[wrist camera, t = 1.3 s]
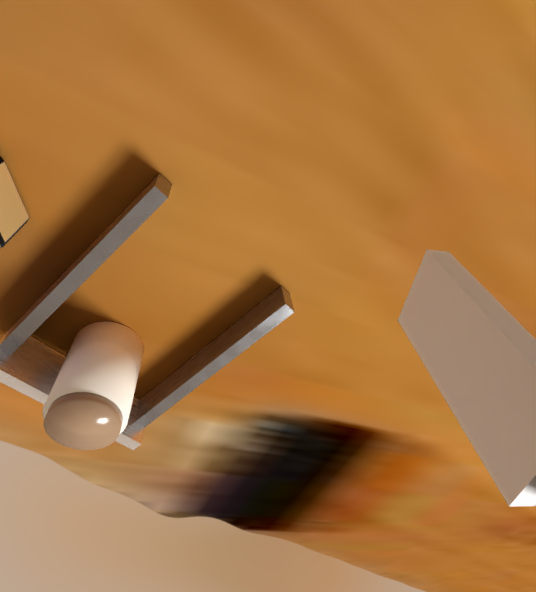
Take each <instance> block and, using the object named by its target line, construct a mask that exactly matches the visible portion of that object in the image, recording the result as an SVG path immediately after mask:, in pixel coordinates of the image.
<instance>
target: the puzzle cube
mask: <svg viewBox="0 0 536 592" xmlns="http://www.w3.org/2000/svg"><path fill="white" fill-rule="evenodd" d="M28 219H29V216H28V214H27V211H26V209H25V207H24V205H23V202H22V200H21V198H20V196H19V193H18V191H17V189H16V186H15V184H14V182H13V180H12V177H11V175H10V173H9V171H8V168H7V166H6V164H5V161H3V160H2V159H0V248H1V247H3V246H4V245H5V244H6V243H7V242H8V241H9V240H10V239H11V238H12V237H13V236H14V235H15V234H16V233H17V232H18V231H19V230H20V229H21V228H22V227H23V226H24V225H25V224H26V222H27V221H28Z"/></svg>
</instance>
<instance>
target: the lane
mask: <svg viewBox="0 0 536 592" xmlns="http://www.w3.org/2000/svg"><path fill="white" fill-rule="evenodd" d="M171 186H172V184H171V183H170V182H169V181H168V180H167V179H166V178H164V177H163V176H162V175H161V174H160V173H159V174H158V175H157V177H156V178H155V179H154V180H153V181H152V182H151V183H150V184H149V185H148V186H147V187H146V188H145V189H144V190H143V191H142V192H141V193H140V194H139V195H138V196H137V197H136V198H135V199H134V200H133V201H132V202H131V203H130V205H129V206H128V207H127V208H126V209H125V210H124V211H123V212H122V213H121V214H120V215H119V216H118V217H117V218H116V219H115V220H114V221H113V222H112V223H111V224H110V225H109V226H108V227H107V228H106V229H105V230H104V231H103V232H102V234H101V235H100V236H99V237H98V238H97V239H96V240H95V241H94V242H93V243H92V244H91V245H90V246H89V247H88V248H87V249H86V250H85V251H84V252H83V253H82V254H81V255H80V256H79V257H78V258H77V259H76V260H75V262H74V263H73V264H72V265H71V266H70V267H69V268H68V269H67V270H66V271H65V272H64V273H63V274H62V275H61V276H60V277H59V278H58V279H57V280H56V281H55V282H54V283H53V284H52V285H51V286H50V287H49V288H48V289H47V291H46V292H45V293H44V294H43V295H42V296H41V297H40V298H39V299H38V300H37V301H36V302H35V303H34V304H33V305H32V306H31V307H30V308H29V309H28V310H27V311H26V312H25V313H24V314H23V315H22V316H21V317H20V319H19V320H18V321H17V322H16V323H15V324H14V325H13V326H12V327H11V328H10V329H9V330H8V331H7V332H6V333H5V334H4V336H3V337H2V339H1V340H0V382H1V383H3V384H5V385H7V386H9V387H11V388H13V389H15V390H17V391H19V392H21V393H23V394H25V395H27V396H29V397H31V398H33V399H35V400H37V401H38V402H40V403H42V404H44V405H45V403H46V400H47V398H48V396H49V394H50V392H51V389H52V387H53V385H54V383H55V381H56V379H57V376H58V374H59V372H60V370H61V368H62V365H63V363H64V361H65V359H66V356H64V355H62V354H61V353H59V352H57V351H56V350H54V349H52V348H50V347H49V346H47V345H45V344H44V343H42V342H40V341H39V340H37V339H35V338H33V337H32V336H30V335H31V334H32V333H33V332H34V331H35V330H36V329H37V328H38V327H39V326H40V325H41V324H42V323H43V322H44V321H45V320H46V319H47V318H48V317H49V316H50V315H51V314H52V313H53V312H54V311H55V310H56V309H57V308H58V307H59V306H60V305H61V304H62V303H63V302H64V301H65V300H66V299H67V298H68V297H69V296H70V295H71V294H72V293H73V292H74V291H75V290H76V289H77V288H78V287H79V286H80V285H81V284H82V283H83V282H84V281H85V280H86V279H87V278H88V277H89V276H90V275H91V274H92V273H93V272H94V271H95V270H96V269H97V268H98V267H99V266H100V265H101V264H102V263H103V262H104V261H105V260H106V259H107V258H108V257H109V256H110V255H111V254H112V253H113V252H114V251H115V250H116V249H117V248H118V247H119V246H120V245H121V244H122V243H123V242H124V241H125V240H126V239H127V238H128V237H129V236H130V235H131V234H132V233H133V232H134V231H135V230H136V229H137V228H138V227H139V226H140V225H141V224H142V223H143V222H144V221H145V220H146V219H147V218H148V217H149V216H150V215H151V214H152V213H153V212H154V211H155V210H156V209H157V208H158V207H159V206H160V205H161V204H162V203H163V202H164V201H165V200H166V199H167V198H168V196H169V193H170V189H171ZM292 313H294V308H293V305H292V301H291V297H290V293H289V292H287V291H286V290H285V289H284V288H283V287H282V286H280V287H279V288H278V289H276V290H275V291H274V292H273V293H271V294H270V295H269V296H268V297H266V298H265V299H264V300H263V301H261V302H260V303H259V304H258V305H257V306H255V307H254V308H253V309H252V310H250V311H249V312H248V313H247V314H245V315H244V316H243V317H242V318H240V319H239V320H238V321H237V322H235V323H234V324H233V325H232V326H230V327H229V328H228V329H227V330H226V331H224V332H223V333H222V334H221V335H219V336H218V337H217V338H216V339H214V340H213V341H212V342H211V343H209V344H208V345H207V346H206V347H204V348H203V349H202V350H201V351H199V352H198V353H197V354H196V355H194V356H193V357H192V358H191V359H190V360H188V361H187V362H186V363H185V364H183V365H182V366H181V367H180V368H178V369H177V370H176V371H175V372H173V373H172V374H171V375H170V376H168V377H167V378H166V379H165V380H163V381H162V382H161V383H160V384H158V385H157V386H156V387H155V388H154V389H152V390H151V391H150V392H149V393H147V394H146V395H145V396H144V397H142V398H141V399H140V400H139V399H137V398H136V397H133V401H132V406H131V410H130V414H129V419H128V423H127V426H126V428H125V429H124V431H123V432H122V433H121V434H119V436H118V438H117V439H116V440H115V441H117V442H118V443H120V444H122V445H124V446H126V447H128V448H130V449H132V450H134V449H136V448H137V447H138V446H140V445H141V443H142V438H143V432H144V427H146V426H147V425H148V424H150V423H151V422H152V421H154V420H155V419H156V418H157V417H159V416H160V415H161V414H163V413H164V412H165V411H167V410H168V409H169V408H170V407H172V406H173V405H174V404H176V403H177V402H178V401H180V400H181V399H182V398H183V397H185V396H186V395H187V394H189V393H190V392H191V391H193V390H194V389H195V388H196V387H198V386H199V385H200V384H202V383H203V382H204V381H205V380H207V379H208V378H209V377H211V376H212V375H213V374H215V373H216V372H217V371H218V370H220V369H221V368H222V367H224V366H225V365H226V364H228V363H229V362H230V361H231V360H233V359H234V358H235V357H237V356H238V355H239V354H241V353H242V352H243V351H244V350H246V349H247V348H248V347H250V346H251V345H252V344H254V343H255V342H256V341H257V340H259V339H260V338H261V337H263V336H264V335H265V334H267V333H268V332H269V331H270V330H272V329H273V328H274V327H276V326H277V325H278V324H279V323H281V322H282V321H283V320H285V319H286V318H287V317H289V316H290V315H291V314H292Z"/></svg>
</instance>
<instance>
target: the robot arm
mask: <svg viewBox="0 0 536 592" xmlns="http://www.w3.org/2000/svg"><path fill="white" fill-rule="evenodd" d="M398 321H399V323H400V325H401V326H402V328H403V330H404V331H405V333H406V335H407V336H408V338H409V340H410V341H411V343H412V345H413V346H414V348H415V350H416V352H417V353H418V355H419V357H420V358H421V360H422V362H423V363H424V365H425V367H426V368H427V370H428V372H429V373H430V375H431V377H432V378H433V380H434V382H435V383H436V385H437V387H438V388H439V390H440V392H441V393H442V395H443V397H444V398H445V400H446V402H447V403H448V405H449V407H450V408H451V410H452V412H453V413H454V415H455V417H456V418H457V420H458V422H459V423H460V425H461V427H462V428H463V430H464V432H465V433H466V435H467V437H468V438H469V440H470V442H471V443H472V445H473V447H474V448H475V450H476V452H477V454H478V455H479V457H480V459H481V460H482V462H483V464H484V465H485V467H486V469H487V470H488V472H489V474H490V475H491V477H492V479H493V480H494V482H495V484H496V485H497V487H498V489H499V490H500V492H501V494H502V495H503V497H504V499H505V500H506V502H507V504H508V505H509V506H536V339H535V338H534V337H533V336H532V335H531V334H530V333H529V332H528V331H527V330H526V329H525V328H524V327H523V326H522V325H521V324H520V323H519V322H518V321H517V320H516V319H515V318H514V317H513V316H512V315H511V314H510V313H509V312H508V311H507V310H506V309H505V308H504V307H503V306H502V305H501V304H500V303H499V302H498V301H497V300H496V299H495V298H494V297H493V296H492V295H491V294H490V293H489V292H488V291H487V290H486V289H485V288H484V287H483V286H482V285H481V284H480V283H479V282H478V281H477V280H476V279H475V278H474V277H473V276H472V275H471V274H470V273H469V272H468V271H467V270H466V269H465V268H464V267H463V266H462V265H461V264H460V263H459V262H458V261H457V260H456V259H455V258H454V257H453V256H452V255H451V254H450V253H449V252H444V251H435V250H426V253H425V255H424V258H423V260H422V262H421V265H420V267H419V270H418V272H417V275H416V277H415V279H414V282H413V284H412V287H411V289H410V292H409V294H408V297H407V299H406V301H405V304H404V306H403V309H402V311H401V314H400V316H399V319H398Z"/></svg>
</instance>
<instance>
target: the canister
mask: <svg viewBox="0 0 536 592" xmlns="http://www.w3.org/2000/svg"><path fill="white" fill-rule="evenodd" d="M143 353H144V347H143V343H142V341H141V339H140V338H139V336H138V335H137V334H136V333H135V332H134V331H133V330H131V329H130V328H128V327H126V326H124V325H122V324H119V323H115V322H106V321H103V322H95V323H92V324H89V325H87V326H85V327H83V328H82V329H81V330H80V331H79V332H78V333H77V335H76V337H75V339H74V341H73V344H72V346H71V348H70V350H69V352H68V354H67V357H66V359H65V361H64V363H63V365H62V368H61V370H60V372H59V374H58V376H57V379H56V381H55V383H54V385H53V387H52V389H51V392H50V394H49V396H48V398H47V400H46V403H45V405H44V407H43V417H44V428H45V430H46V432H47V434H48V435H49V436H50V437H51V438H52V439H53V440H54V441H56V442H57V443H59V444H61V445H63V446H66V447H69V448H72V449H78V450H95V449H100V448H103V447H106V446H108V445H110V444H111V443H113V442H114V441H115V440H116V439H117V438H118V436H119V434H121V433H122V432H123V431H124V429H125V428H126V426H127V423H128V419H129V414H130V410H131V406H132V401H133V397H134V393H135V388H136V384H137V379H138V375H139V371H140V366H141V362H142V358H143Z"/></svg>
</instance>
